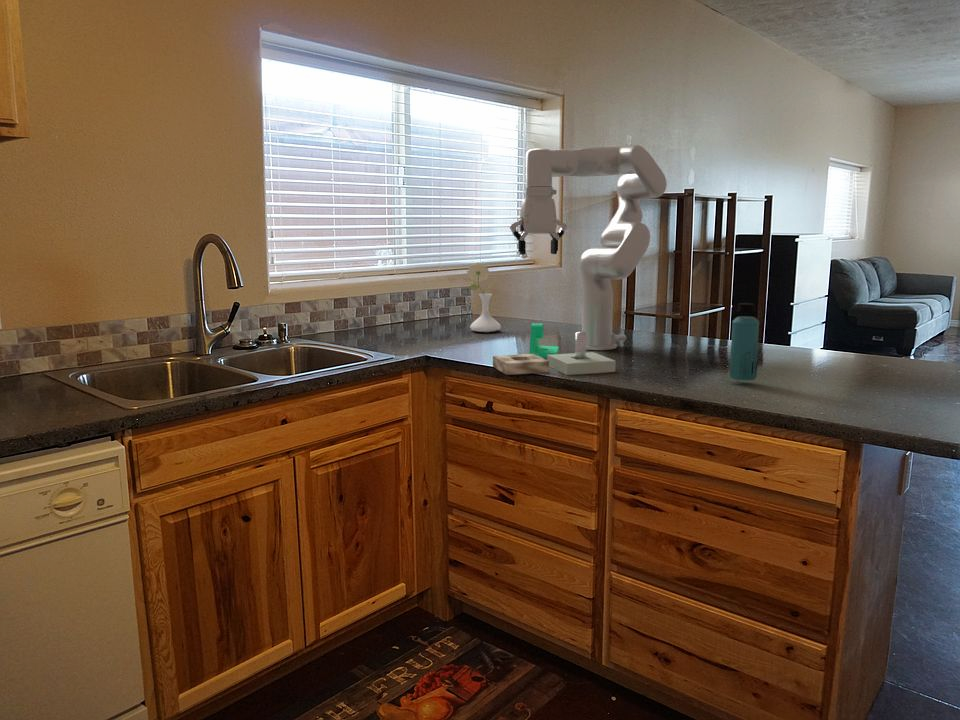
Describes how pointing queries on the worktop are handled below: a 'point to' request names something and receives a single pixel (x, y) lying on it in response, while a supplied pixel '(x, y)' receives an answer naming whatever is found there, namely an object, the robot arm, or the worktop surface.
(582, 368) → the dock block
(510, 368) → the block
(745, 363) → the beverage bottle
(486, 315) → the flower in vase
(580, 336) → the steel pin
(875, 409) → the worktop surface
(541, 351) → the camera mount
